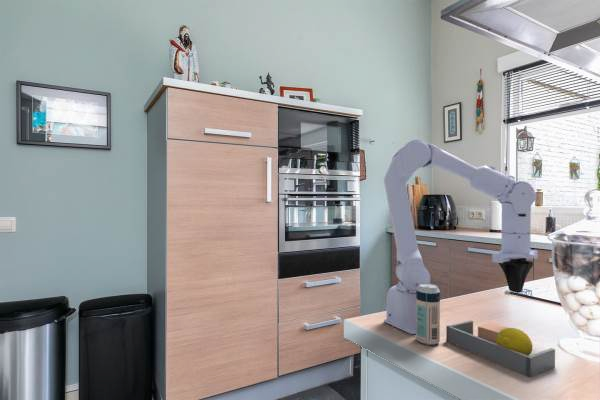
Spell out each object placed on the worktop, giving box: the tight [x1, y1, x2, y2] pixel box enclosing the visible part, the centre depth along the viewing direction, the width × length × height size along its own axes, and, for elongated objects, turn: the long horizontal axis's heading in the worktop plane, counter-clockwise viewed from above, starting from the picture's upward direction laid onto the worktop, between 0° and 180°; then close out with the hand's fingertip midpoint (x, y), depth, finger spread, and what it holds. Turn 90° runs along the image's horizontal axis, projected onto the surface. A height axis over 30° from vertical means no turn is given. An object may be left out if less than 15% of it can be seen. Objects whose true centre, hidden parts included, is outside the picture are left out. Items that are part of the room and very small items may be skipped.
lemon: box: [496, 327, 533, 356], centre depth 66 cm, size 6×6×8 cm
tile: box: [477, 321, 509, 343], centre depth 76 cm, size 5×5×2 cm
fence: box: [445, 320, 556, 378], centre depth 68 cm, size 17×8×3 cm, turn 28°
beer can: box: [415, 283, 441, 346], centre depth 73 cm, size 5×5×12 cm
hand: (515, 291), depth 80 cm, fingers closed
